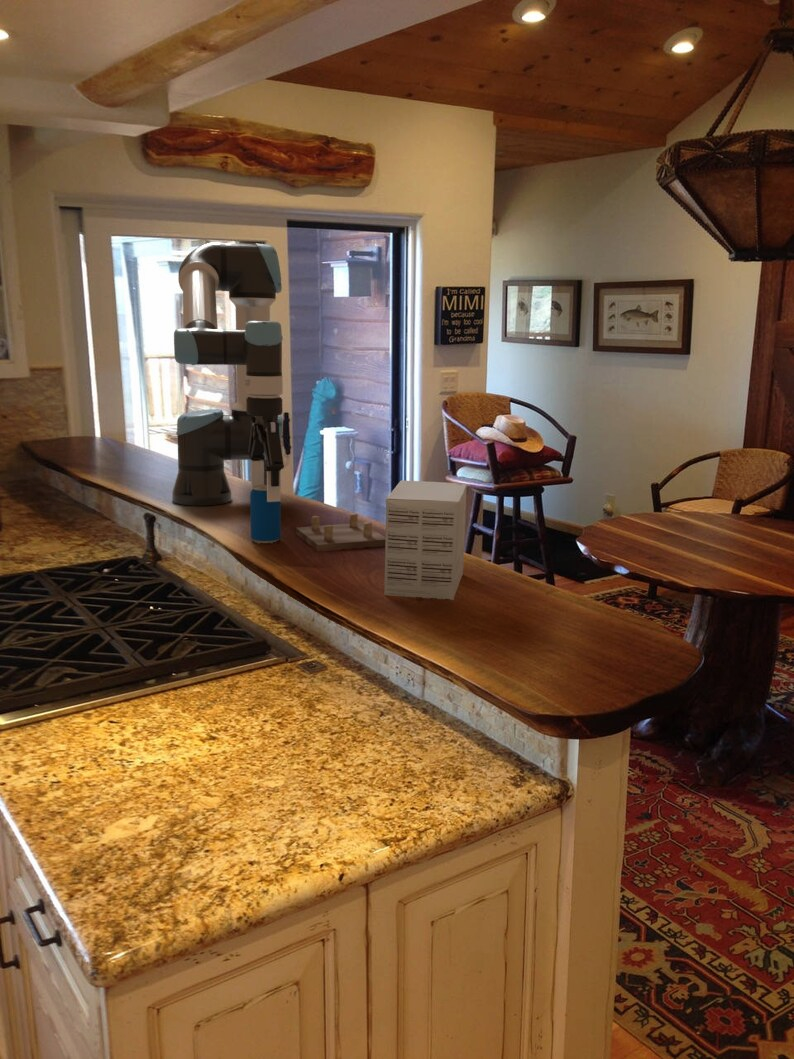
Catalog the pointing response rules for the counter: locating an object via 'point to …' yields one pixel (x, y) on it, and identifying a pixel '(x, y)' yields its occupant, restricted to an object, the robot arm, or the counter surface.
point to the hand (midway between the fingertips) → (265, 495)
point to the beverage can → (264, 516)
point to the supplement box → (425, 539)
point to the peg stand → (341, 535)
